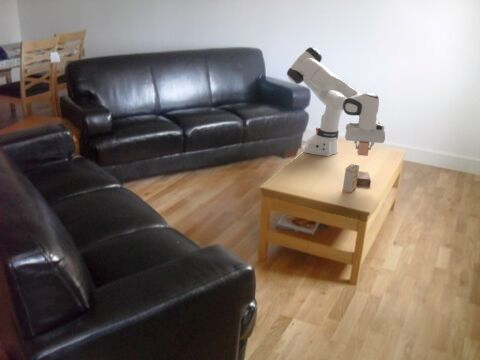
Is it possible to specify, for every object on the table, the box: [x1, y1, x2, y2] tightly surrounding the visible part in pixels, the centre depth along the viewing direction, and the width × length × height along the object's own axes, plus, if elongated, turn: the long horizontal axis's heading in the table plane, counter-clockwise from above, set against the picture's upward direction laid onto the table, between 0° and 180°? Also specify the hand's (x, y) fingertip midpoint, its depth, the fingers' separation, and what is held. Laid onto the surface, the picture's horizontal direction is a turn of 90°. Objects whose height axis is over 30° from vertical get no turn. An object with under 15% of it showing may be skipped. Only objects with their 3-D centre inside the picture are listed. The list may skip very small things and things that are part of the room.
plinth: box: [356, 170, 372, 187], centre depth 265 cm, size 11×11×4 cm
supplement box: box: [342, 163, 360, 194], centre depth 253 cm, size 8×5×13 cm, turn 148°
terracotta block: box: [356, 141, 371, 157], centre depth 258 cm, size 5×5×7 cm
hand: (363, 149), depth 258 cm, fingers closed on terracotta block, 5 cm apart
